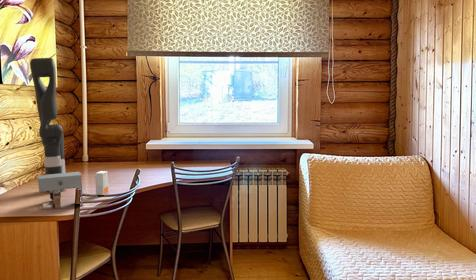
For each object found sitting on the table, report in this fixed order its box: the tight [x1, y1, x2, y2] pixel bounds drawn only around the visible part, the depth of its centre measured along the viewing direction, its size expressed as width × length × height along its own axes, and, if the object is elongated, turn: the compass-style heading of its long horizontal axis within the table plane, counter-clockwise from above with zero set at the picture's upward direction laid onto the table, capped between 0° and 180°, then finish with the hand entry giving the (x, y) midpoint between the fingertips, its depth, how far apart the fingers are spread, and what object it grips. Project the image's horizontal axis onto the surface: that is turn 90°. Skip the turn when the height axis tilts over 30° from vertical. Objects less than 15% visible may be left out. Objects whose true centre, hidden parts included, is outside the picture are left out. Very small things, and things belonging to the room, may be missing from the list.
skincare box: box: [94, 170, 109, 196], centre depth 224 cm, size 6×4×12 cm
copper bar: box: [52, 190, 62, 210], centre depth 206 cm, size 18×2×6 cm, turn 27°
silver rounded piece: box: [42, 201, 55, 210], centre depth 200 cm, size 5×5×2 cm
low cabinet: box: [37, 171, 84, 207], centre depth 201 cm, size 10×18×15 cm, turn 115°
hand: (55, 199), depth 212 cm, fingers closed on copper bar, 2 cm apart
